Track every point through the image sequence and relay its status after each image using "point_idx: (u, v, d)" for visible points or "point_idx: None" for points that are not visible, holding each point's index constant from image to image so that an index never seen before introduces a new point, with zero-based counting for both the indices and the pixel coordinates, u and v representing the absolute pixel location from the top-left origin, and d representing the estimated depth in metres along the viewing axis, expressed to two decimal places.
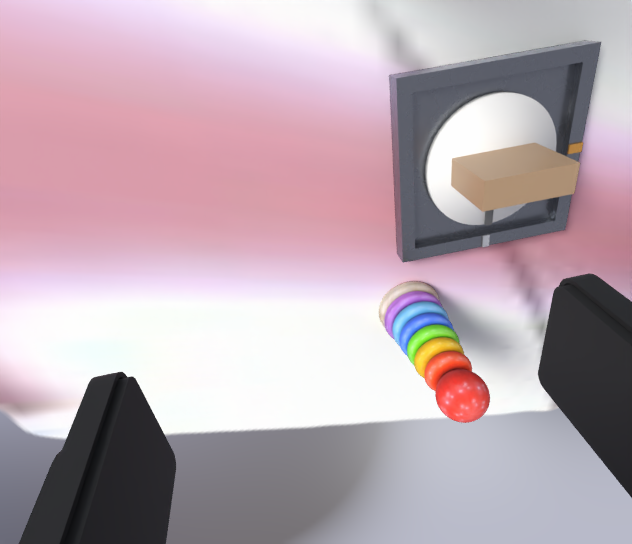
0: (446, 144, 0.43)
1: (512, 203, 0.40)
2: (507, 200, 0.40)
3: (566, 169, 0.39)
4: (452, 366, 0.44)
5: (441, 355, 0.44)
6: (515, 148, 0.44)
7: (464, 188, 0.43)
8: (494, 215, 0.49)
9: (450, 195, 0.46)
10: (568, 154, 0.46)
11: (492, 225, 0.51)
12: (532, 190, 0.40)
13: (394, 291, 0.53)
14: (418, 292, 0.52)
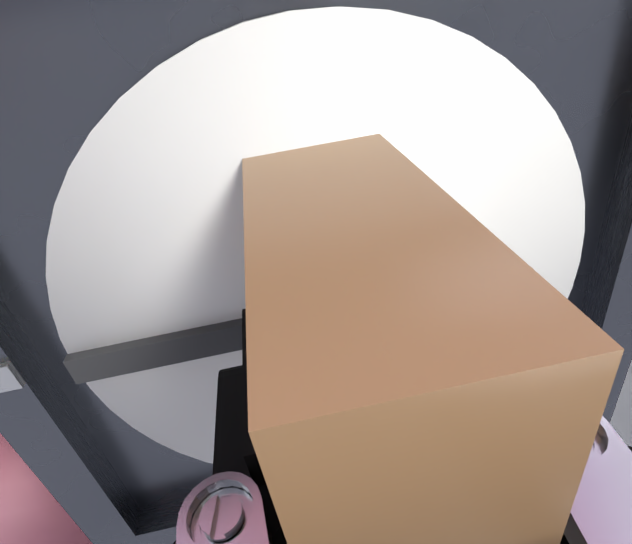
0: (446, 90, 0.09)
1: None
2: None
3: None
4: None
5: None
6: None
7: (295, 208, 0.07)
8: (118, 378, 0.12)
9: (188, 167, 0.09)
10: None
11: (69, 376, 0.13)
12: None
13: None
14: None
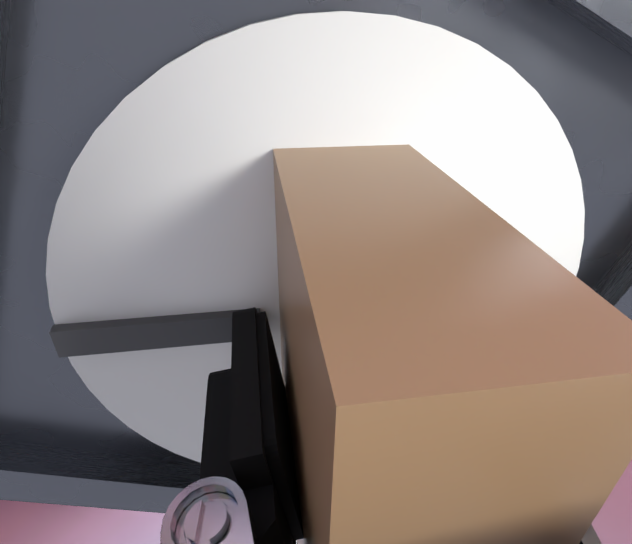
0: (478, 112, 0.09)
1: None
2: None
3: None
4: None
5: None
6: None
7: (338, 202, 0.07)
8: (103, 356, 0.11)
9: (217, 149, 0.09)
10: None
11: (11, 248, 0.11)
12: None
13: None
14: None
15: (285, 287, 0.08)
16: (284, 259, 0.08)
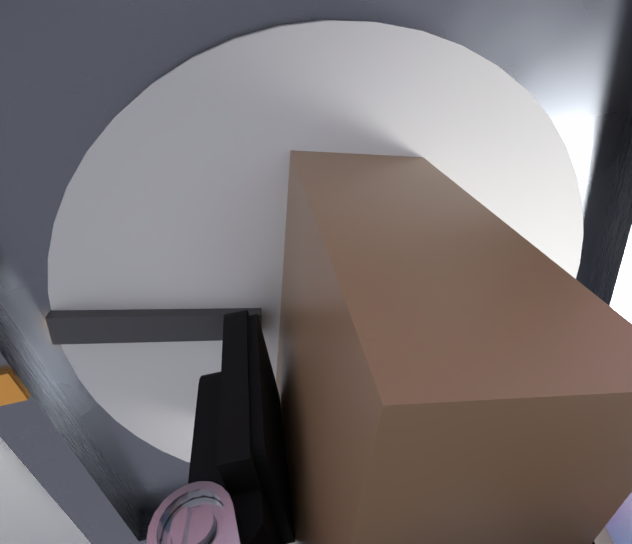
0: (492, 132, 0.10)
1: None
2: None
3: None
4: None
5: None
6: None
7: (361, 207, 0.07)
8: (98, 346, 0.11)
9: (235, 145, 0.09)
10: (2, 368, 0.11)
11: None
12: None
13: None
14: None
15: (296, 288, 0.08)
16: (298, 260, 0.08)
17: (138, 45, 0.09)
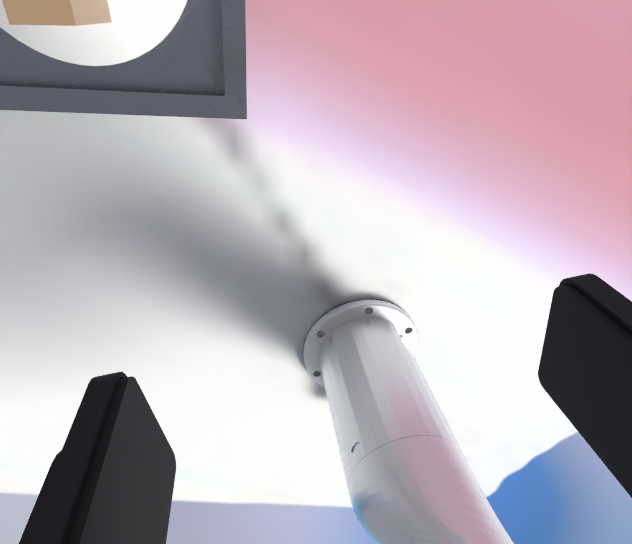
0: None
1: None
2: None
3: None
4: None
5: None
6: None
7: None
8: None
9: None
10: None
11: None
12: None
13: None
14: None
15: None
16: None
17: None
